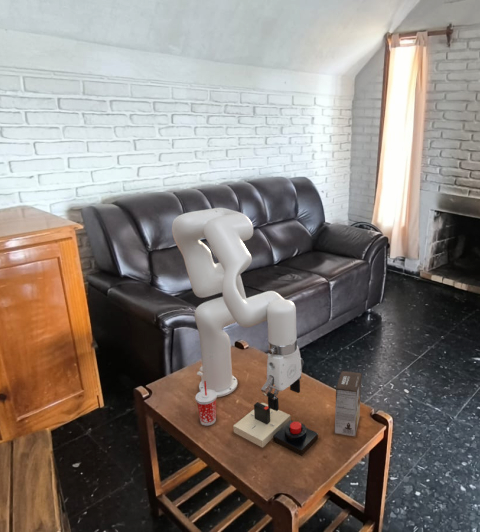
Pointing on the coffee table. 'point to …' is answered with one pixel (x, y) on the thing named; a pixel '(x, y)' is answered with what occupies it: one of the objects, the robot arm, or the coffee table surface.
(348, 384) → the coffee box
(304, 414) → the coffee table surface
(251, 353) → the coffee table surface
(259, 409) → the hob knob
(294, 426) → the power button
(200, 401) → the beverage cup
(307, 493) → the coffee table surface
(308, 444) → the power box
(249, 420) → the panel
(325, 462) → the coffee table surface
